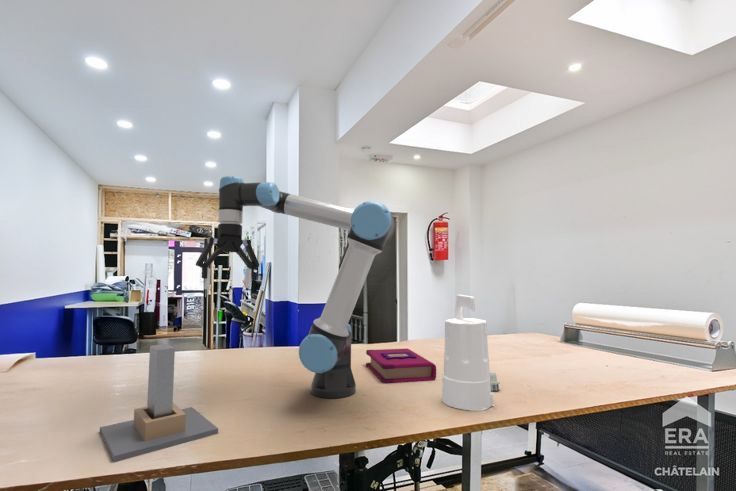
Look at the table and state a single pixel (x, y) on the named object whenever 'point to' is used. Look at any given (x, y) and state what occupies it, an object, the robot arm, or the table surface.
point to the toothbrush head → (494, 382)
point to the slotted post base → (137, 446)
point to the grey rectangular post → (160, 381)
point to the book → (400, 366)
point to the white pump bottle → (466, 360)
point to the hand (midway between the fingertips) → (228, 288)
